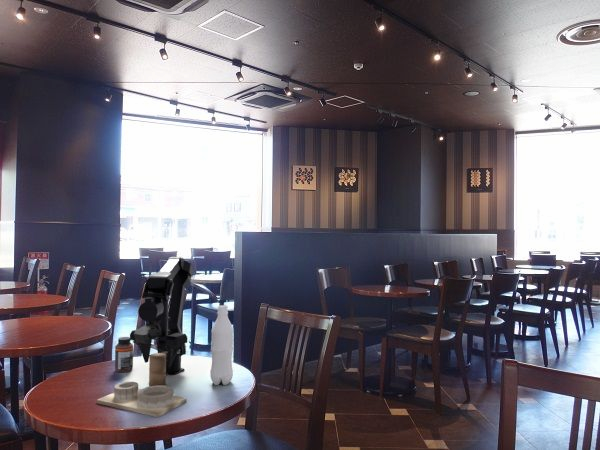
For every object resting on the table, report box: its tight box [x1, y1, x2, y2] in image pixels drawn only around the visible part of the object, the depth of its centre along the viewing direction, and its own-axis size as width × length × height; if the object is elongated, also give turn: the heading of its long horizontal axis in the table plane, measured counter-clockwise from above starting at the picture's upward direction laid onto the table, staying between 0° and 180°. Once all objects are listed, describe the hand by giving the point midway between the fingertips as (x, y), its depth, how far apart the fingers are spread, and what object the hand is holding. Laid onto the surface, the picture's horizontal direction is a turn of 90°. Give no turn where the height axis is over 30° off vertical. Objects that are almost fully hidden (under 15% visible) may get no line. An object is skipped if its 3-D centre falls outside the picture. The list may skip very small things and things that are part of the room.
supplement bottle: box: [114, 336, 134, 373], centre depth 158 cm, size 6×6×11 cm
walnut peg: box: [148, 352, 167, 387], centre depth 142 cm, size 5×5×10 cm
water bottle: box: [209, 304, 234, 386], centre depth 146 cm, size 7×7×25 cm
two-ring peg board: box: [96, 381, 187, 418], centre depth 129 cm, size 12×22×4 cm, turn 66°
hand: (157, 364), depth 142 cm, fingers open, 9 cm apart
